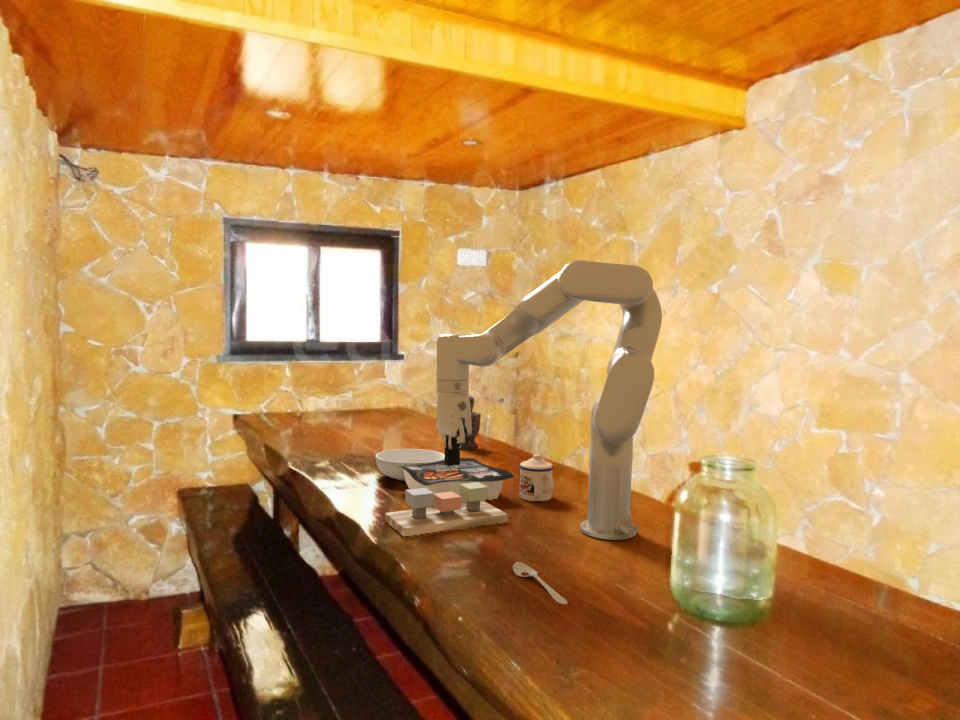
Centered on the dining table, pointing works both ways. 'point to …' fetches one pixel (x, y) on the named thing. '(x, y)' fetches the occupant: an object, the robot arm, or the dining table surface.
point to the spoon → (522, 567)
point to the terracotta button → (447, 502)
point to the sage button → (473, 494)
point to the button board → (444, 519)
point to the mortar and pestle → (475, 426)
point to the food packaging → (455, 477)
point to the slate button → (419, 501)
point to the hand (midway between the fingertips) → (452, 464)
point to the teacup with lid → (536, 479)
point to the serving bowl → (404, 460)
